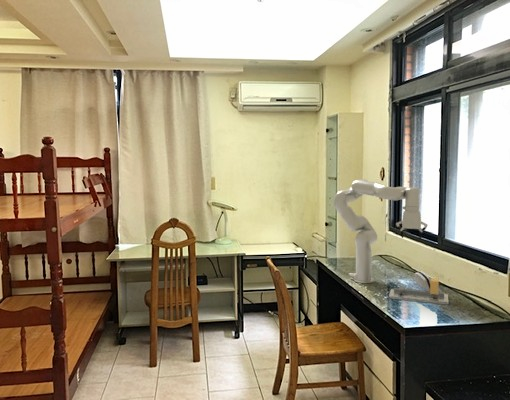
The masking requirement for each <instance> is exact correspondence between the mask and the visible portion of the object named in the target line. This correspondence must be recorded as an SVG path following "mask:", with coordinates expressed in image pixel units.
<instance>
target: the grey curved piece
mask: <svg viewBox="0 0 510 400" xmlns="http://www.w3.org/2000/svg"><path fill="white" fill-rule="evenodd" d="M414 278H415V281H416V284H417V285H418V286H421V288H423V289H425V291H430V282H431V277H430V276H429V275H428V274H427V273H425V272H424V271H422V270H420V271H417V272H415V273H414Z"/></svg>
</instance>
